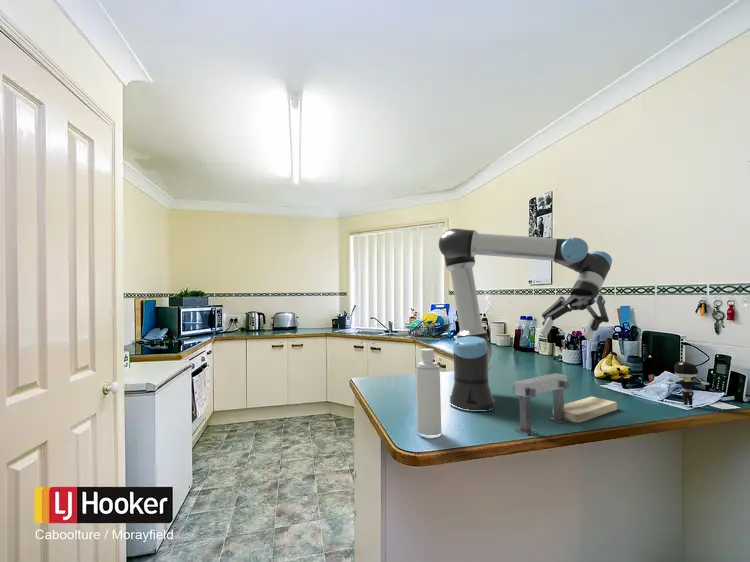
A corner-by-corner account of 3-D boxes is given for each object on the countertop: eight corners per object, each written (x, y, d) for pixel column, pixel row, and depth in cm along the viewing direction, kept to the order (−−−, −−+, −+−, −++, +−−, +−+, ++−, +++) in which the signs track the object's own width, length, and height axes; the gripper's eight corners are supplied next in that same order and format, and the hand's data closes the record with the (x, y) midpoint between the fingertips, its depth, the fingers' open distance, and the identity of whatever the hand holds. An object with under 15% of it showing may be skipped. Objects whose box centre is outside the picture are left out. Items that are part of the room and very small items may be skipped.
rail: (514, 394, 96) (513, 381, 96) (556, 384, 106) (555, 373, 106) (525, 397, 93) (524, 384, 93) (567, 386, 103) (566, 375, 103)
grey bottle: (423, 427, 98) (421, 341, 100) (445, 432, 95) (443, 343, 96) (412, 435, 93) (411, 344, 94) (435, 441, 89) (433, 345, 91)
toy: (701, 404, 117) (698, 360, 117) (717, 409, 111) (714, 363, 111) (659, 403, 118) (657, 360, 119) (673, 409, 112) (670, 363, 113)
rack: (512, 429, 96) (510, 386, 97) (554, 416, 106) (552, 377, 107) (530, 436, 91) (528, 390, 92) (572, 422, 101) (570, 380, 102)
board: (552, 415, 108) (552, 407, 108) (591, 403, 119) (591, 396, 119) (578, 422, 101) (578, 414, 101) (617, 409, 112) (616, 402, 112)
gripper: (634, 294, 104) (613, 347, 96) (556, 296, 126) (533, 340, 117) (624, 277, 102) (602, 330, 93) (546, 282, 123) (522, 326, 115)
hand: (563, 336), depth 105 cm, fingers open, 13 cm apart
